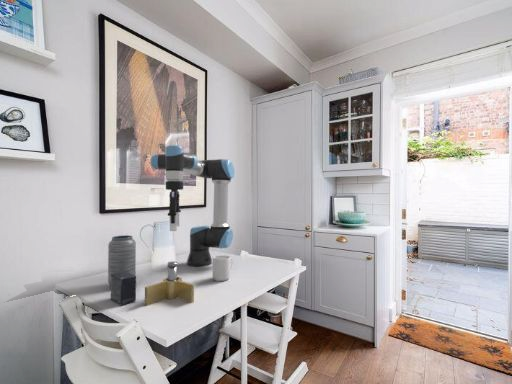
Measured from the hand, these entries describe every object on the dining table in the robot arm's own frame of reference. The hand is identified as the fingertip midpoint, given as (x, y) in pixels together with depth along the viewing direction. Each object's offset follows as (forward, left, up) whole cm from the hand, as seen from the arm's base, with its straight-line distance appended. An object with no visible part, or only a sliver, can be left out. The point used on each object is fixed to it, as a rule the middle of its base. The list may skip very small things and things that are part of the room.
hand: (174, 228), depth 120 cm
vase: (-13, -25, -28) cm, 40 cm away
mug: (-16, +23, -28) cm, 39 cm away
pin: (+5, 0, -28) cm, 28 cm away
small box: (+6, -19, -28) cm, 35 cm away
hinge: (+7, 0, -28) cm, 29 cm away
